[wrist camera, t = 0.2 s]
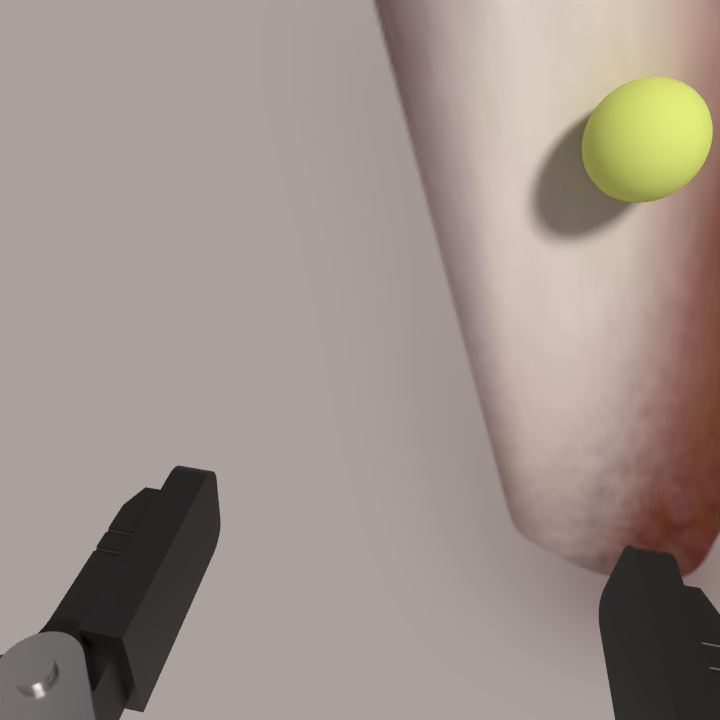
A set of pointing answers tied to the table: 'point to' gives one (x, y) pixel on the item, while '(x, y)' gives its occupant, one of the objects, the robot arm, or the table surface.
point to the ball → (647, 139)
